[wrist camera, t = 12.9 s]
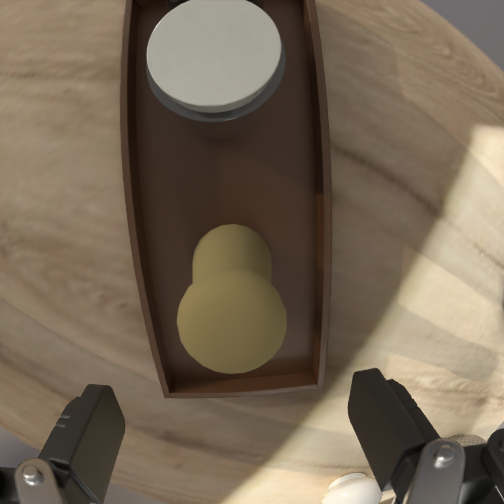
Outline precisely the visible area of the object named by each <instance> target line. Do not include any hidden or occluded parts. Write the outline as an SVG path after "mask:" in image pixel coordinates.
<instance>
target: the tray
mask: <svg viewBox="0 0 504 504" xmlns="http://www.w3.org/2000/svg"><path fill="white" fill-rule="evenodd" d="M264 12H265V13H266V14H267V15H268V16H269V17H270V18H271V19H272V21H273V22H274V23H275V25H276V27H277V29H278V32H279V35H280V38H281V40H282V42H283V45H284V48H285V54H286V65H285V72H284V75H283V78H282V81H281V83H280V85H279V87H278V89H277V90H276V92H275V94H274V96H273V98H272V99H271V101H270V103H269V105H268V107H267V109H266V110H265V112H264V114H263V116H262V118H261V120H260V121H259V123H258V125H257V126H256V127H255V128H254V129H253V130H252V131H251V132H250V133H249V134H247V135H246V136H244V137H242V138H241V139H238V140H235V141H232V142H225V143H218V142H212V141H208V140H205V139H203V138H201V137H199V136H198V135H196V134H195V133H194V132H193V131H192V130H190V129H189V128H188V127H187V126H186V125H185V124H184V123H183V122H182V121H181V120H179V119H178V118H177V117H176V116H175V115H174V114H173V113H172V112H171V111H169V110H168V109H167V108H166V107H165V106H164V105H163V104H162V103H161V102H160V101H159V100H158V99H157V98H156V96H155V95H154V93H153V91H152V90H151V87H150V85H149V82H148V78H147V71H146V63H147V47H148V43H149V39H150V37H151V35H152V32H153V31H154V29H155V27H156V26H157V24H158V23H159V22H160V21H161V19H162V18H163V17H164V16H165V15H166V14H168V13H169V11H168V9H167V6H166V4H165V2H164V0H126V2H125V10H124V20H123V32H122V46H121V67H120V131H121V153H122V168H123V181H124V192H125V202H126V211H127V220H128V228H129V235H130V242H131V249H132V256H133V262H134V268H135V274H136V280H137V285H138V291H139V296H140V301H141V306H142V311H143V315H144V320H145V324H146V329H147V333H148V338H149V342H150V346H151V350H152V354H153V358H154V362H155V365H156V369H157V373H158V377H159V380H160V384H161V387H162V391H163V394H164V397H165V398H222V397H241V396H255V395H267V394H277V393H287V392H295V391H303V390H310V389H317V388H323V387H324V378H325V368H326V356H327V344H328V330H329V313H330V293H331V262H332V189H331V159H330V139H329V123H328V109H327V97H326V86H325V75H324V66H323V57H322V49H321V41H320V34H319V26H318V20H317V13H316V7H315V1H314V0H266V3H265V8H264ZM230 224H237V225H241V226H246V227H248V228H250V229H252V230H253V231H255V232H257V233H258V234H259V235H260V236H261V237H262V238H263V239H264V241H265V242H266V243H267V246H268V248H269V250H270V253H271V262H272V274H271V285H272V286H273V287H274V288H275V289H276V290H277V291H278V293H279V295H280V298H281V300H282V302H283V305H284V307H285V309H286V320H287V327H286V333H285V336H284V339H283V342H282V345H281V346H280V348H279V349H278V350H277V352H276V353H275V354H274V356H273V357H272V358H271V359H270V360H268V361H267V362H265V363H264V364H263V365H261V366H260V367H258V368H256V369H253V370H251V371H248V372H245V373H235V374H228V373H222V372H216V371H214V370H211V369H209V368H207V367H205V366H203V365H201V364H200V363H199V362H198V361H197V360H196V359H194V358H193V357H192V356H191V355H190V354H189V353H188V352H187V350H186V349H185V347H184V345H183V344H182V342H181V339H180V335H179V330H178V326H177V316H178V309H179V305H180V302H181V300H182V298H183V296H184V295H185V293H186V291H187V289H188V287H189V286H191V285H192V284H193V267H192V261H193V256H194V250H195V248H196V246H197V244H198V243H199V241H200V239H201V238H202V237H203V236H204V235H205V234H207V233H208V232H209V231H210V230H212V229H214V228H217V227H219V226H221V225H230Z"/></svg>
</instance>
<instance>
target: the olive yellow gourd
mask: <svg viewBox="0 0 504 504" xmlns="http://www.w3.org/2000/svg"><path fill="white" fill-rule="evenodd" d="M192 267H193V284H192V285H191V286H189V287H188V289H187V291H186V293H185V295H184V296H183V298H182V300H181V302H180V305H179V309H178V316H177V326H178V330H179V335H180V339H181V342H182V344H183V345H184V347H185V349H186V350H187V352H188V353H189V354H190V355H191V356H192V357H193V358H194V359H196V360H197V361H198V362H199V363H200V364H201V365H203V366H205V367H207V368H209V369H211V370H214V371H216V372H222V373H228V374H235V373H245V372H248V371H251V370H253V369H256V368H258V367H260V366H261V365H263V364H264V363H265V362H267V361H268V360H270V359H271V358H272V357H273V356H274V354H275V353H276V352H277V350H278V349H279V348H280V346H281V345H282V342H283V339H284V336H285V333H286V327H287V320H286V309H285V307H284V305H283V302H282V300H281V298H280V295H279V293H278V291H277V290H276V289H275V288H274V287H273V286H272V285H271V274H272V262H271V253H270V250H269V248H268V246H267V243H266V242H265V241H264V239H263V238H262V237H261V236H260V235H259V234H258V233H257V232H255V231H253V230H252V229H250V228H248V227H246V226H241V225H237V224H230V225H221V226H219V227H217V228H214V229H212V230H210V231H209V232H208V233H207V234H205V235H204V236H203V237H202V238H201V239H200V241H199V243H198V244H197V246H196V248H195V250H194V256H193V261H192Z"/></svg>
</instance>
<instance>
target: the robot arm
mask: <svg viewBox="0 0 504 504" xmlns="http://www.w3.org/2000/svg"><path fill="white" fill-rule="evenodd" d="M348 415H349V419H350V422H351V424H352V426H353V429H354V431H355V433H356V435H357V438H358V440H359V442H360V444H361V447H362V449H363V451H364V453H365V456H366V458H367V460H368V463H369V465H370V467H371V469H372V472H373V474H374V476H375V479H376V481H377V483H378V486H379V488H380V490H381V492H384V491H387V490H390V489H393V490H394V492H395V494H396V496H395V497H394V499H393V502H392V504H504V501H503V499H502V498H501V496H500V494H499V492H498V491H497V489H496V486H497V488H498V489H499V491H500V493H501V495H502V496H503V498H504V429H499V430H497V431H495V432H494V433H493V434H492V435H491V436H490V438H489V439H488V441H487V442H486V443H482V444H476V445H471V446H464V447H462V446H461V445H460V444H459V443H457V442H456V441H454V440H451V439H444V438H441V437H440V436H439V435H438V433H437V432H436V430H435V429H434V428H433V426H432V425H431V423H430V422H429V420H428V419H427V418H426V416H425V415H424V413H423V412H422V411H421V409H420V408H419V407H417V404H416V402H415V401H414V399H412V397H411V395H410V394H409V392H408V391H407V390H406V388H405V387H404V386H403V385H401V384H399V383H398V382H396V381H395V380H393V379H390V380H386V379H385V378H384V376H383V375H382V373H381V372H380V370H379V369H378V368H372V369H368V370H363V371H357V372H355V373H354V375H353V379H352V385H351V391H350V396H349V402H348ZM124 433H125V419H124V416H123V414H122V411H121V409H120V407H119V404H118V402H117V399H116V397H115V394H114V392H113V389H112V388H111V387H110V386H108V385H96V384H89V385H87V387H86V388H85V390H84V392H83V394H82V395H81V397H76V398H75V399H73V400H72V401H71V402H70V403H69V404H68V405H66V407H65V409H64V411H63V412H62V414H61V418H59V420H58V421H57V423H56V426H55V427H54V429H53V430H52V432H51V434H50V436H49V438H48V440H47V442H46V443H45V445H44V447H43V449H42V451H41V453H40V455H39V457H38V458H29V459H26V460H24V461H22V462H21V463H20V464H19V465H18V466H17V468H4V467H0V504H90V502H92V503H96V504H103V502H104V498H105V495H106V491H107V488H108V485H109V481H110V478H111V474H112V471H113V468H114V465H115V461H116V458H117V455H118V452H119V449H120V446H121V442H122V439H123V436H124Z"/></svg>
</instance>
